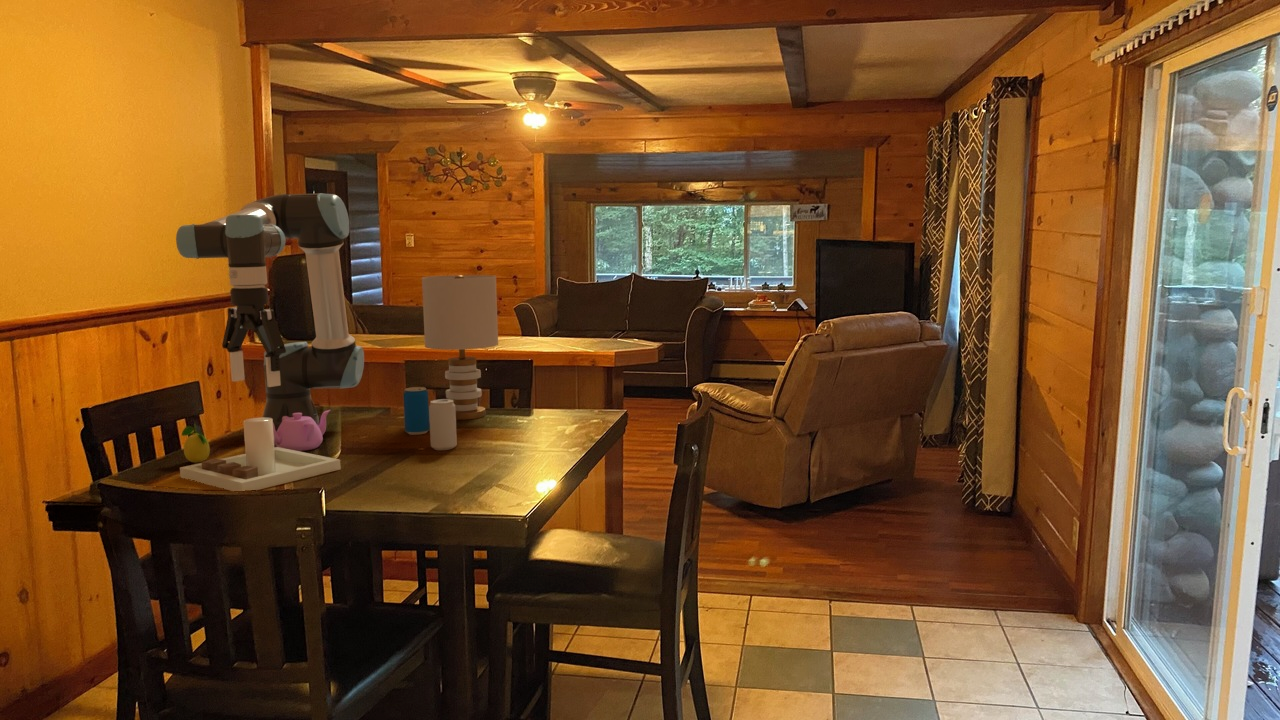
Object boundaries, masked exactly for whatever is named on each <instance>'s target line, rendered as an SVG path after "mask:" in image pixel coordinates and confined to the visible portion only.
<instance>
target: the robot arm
mask: <svg viewBox="0 0 1280 720" xmlns="http://www.w3.org/2000/svg"><path fill="white" fill-rule="evenodd" d="M349 234H350V219H349V214H348V210H347V208H346V205H345V203H344V201H343V200H342V198H341V197H339V196H338V195H336V194H333V193H322V192H321V193H320V192H317V193H316V192H315V193H293V194H291V193H289V194H287V193H281V194H275V195H271V196H270V195H269V196H268V197H264V198H260V199H257V200H254V201H252V202H249V203H246V204H245V205H244V206H243V207H241V209H240V210H238V211H237V212H233V213H231V214H228V215H225V216H222V217H220V218H218V219H215V220H211V221H209V222H205V223H202V224H195V223H191V224H183V225H181V226H180V227H179V228H177V232H176V234H175V242H176V248H177V250H178V253H179V254H180V256H182V257H183V258H186V259H196V260H199V259H215V258H217V259H218V258H219V259H221V258H227V261H228V264H227V265H228V272H229V273H228V276H229V285H230V286H231V287H232V288H231V289H230V290H229V291H230V292H229V293H230V301H231V302H230V303H231V305H232V306H234V307H228V308H227V321H226V326H225V330H224V334H223V340H222V343H221V345H222V348H223V349H225V350H227V352H228V353H229V365H230V375H231V382H241V381H245V380H246V379H245V378H246V377H245V367H244V365H245V364H244V351H243V348H242V345H243V343H244V342H245V338H246V336H247V334H248V333H249V330H250V331H252V332H253V333H255V334H256V336H257V337H258V339H259V341H260V343H261V345H262V347H263V349H264V352H263V369H264V382H265V383H264V384H265V395H266V401H265V405H264V409H263V411H262V412H263V414H262V417H261V418H263V417H265V418H272V419H273V423H274V426H275V430H276V432H277V430H278V428H279V426H280V424H281V423H282V417H283V416H288V417H289V418H290V417H293V415H292V414H293V413H302V416H307V417H311V418H312V419H313V420H314V421H315V422H316V424H317V425H319V423H320V420H319V415H318V412H317V409H316V407H315V404H314V402H313V399H312V395H311V389H313V390H314V389H341V390H343V389H349V388H355V387H357V386H358V385H359V383H360V382H361V379H362V377H363V373H364V372H363V371H364V368H365V351H364V349H363V347H362V346H360V345H356V344H357V343H356V339H355V337H354V336H352V335H351V334H350V333H349V328H348V327H349V326H348V317H347V310H346V302H345V294H344V293H345V291H344V284H343V283H344V282H343V277H342V276H343V275H342V268H341V267H342V265H341V260H340V259H341V258H340V249H341V247H342V246H343V245H344V244H345V243H344V239H346V238H347V237H348V236H349ZM287 239H289V240H291V239H297V244H298V245H297V246H298V248H300V250H302V251H303V252H304V253H305V259H306V261H305V262H306V267H307V277H308V281H309V282H308V285H309V291H310V298H311V299H310V300H311V305H312V312H313V313H312V314H313V322H314V331H315V338H314V339H313V340H312V342H311V346H309V344H308V342H307V341H296V342H289V343H284V341H283V338H282V335H281V333H280V329H279V327H278V324H277V320H276V315H275V310H274V309H265V308H264V307H265V305H268V303H269V289H268V287H266V286H265V285H267V284H268V273H267V263H266V261H267V260H266V258H273V257H275V256H277V255H279V254H280V253H281V252H283V251H284V250H285V246H286V243H287V242H286V240H287Z"/></svg>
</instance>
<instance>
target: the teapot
mask: <svg viewBox="0 0 1280 720" xmlns="http://www.w3.org/2000/svg"><path fill="white" fill-rule="evenodd" d="M330 412H331V409H327V410H325V411H323V412H322V413H321V415H320V420H319V424H318V425H317V424H316V422H315V421H314V420H313V419H312V418H311V417H307V416H302V413H293V414H292V415H293V417H290V418H289V417H288V416H283V417H282V423H281V424H280V426H279V428H278V430H277V431H276V430H275V426H274V423H273V433H274V446H275V447H280V448H285V449H290V450H295V451H300V452H305V451H310V450H315V449H317V448H319V447H320V446H321V444H322V443H323V440H324V438H323V435H324V434H325V432H326V429H327V416H328V414H329V413H330Z"/></svg>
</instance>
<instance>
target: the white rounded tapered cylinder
mask: <svg viewBox="0 0 1280 720" xmlns="http://www.w3.org/2000/svg"><path fill="white" fill-rule="evenodd" d="M242 422H243V437H244V438H243V439H244V450H245V453H244V454H246V466H251V467H258V476H263V475H267V474H271V473H275V472H276V465H275V449H274V447H275V443H274V433H273V419H272V418H265V417H263V418H262V417H252V418H247V419H244V420H243V421H242Z"/></svg>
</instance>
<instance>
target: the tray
mask: <svg viewBox="0 0 1280 720" xmlns="http://www.w3.org/2000/svg"><path fill="white" fill-rule="evenodd" d="M274 449H275V465H276V472H275V473H271V474H267V475H263V476H258V477H254V478H250V479H246V480H245V479H241V478H237V477H233V476H229V475H225V474H220V473H216V472H212V471H208V470H204V469H202V463H201V462H200V463H193V464H191V465H186V466H181V467H179V472H180V473H179V476H180V478H181V479H184V478H186V479H185V480H188V479H191V480H190V481H192V480H195V481H194V482H196V481H197V482H196V483H199V482H201V483H200V484H203V483H204V485H208V486H211V485H212V486H211V487H215V486H216V488H219V489H223V488H224V489H223V490H227V491H231V492H234V491H245V490H256V491H260V490H264V489H267V488H272V487H276V486H279V485H284V484H288V483H291V482H296V481H300V480H304V479H307V478H313V477H316V476H321V475H324V474H328V473H331V472H336V471H339V470H340V471H341V469H342V467H341V459H339V458H333V457H329V456H324V455H318V454H313V453H309V452H305V451H295V450H290V449H285V448H280V447H277V446H274ZM220 459H221V460H226V463H231V462H235V463H238V464H241V467H242V466H246V453H242V454H241V453H240V454H237V455H234V456H227V457H223V458H220Z"/></svg>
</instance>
